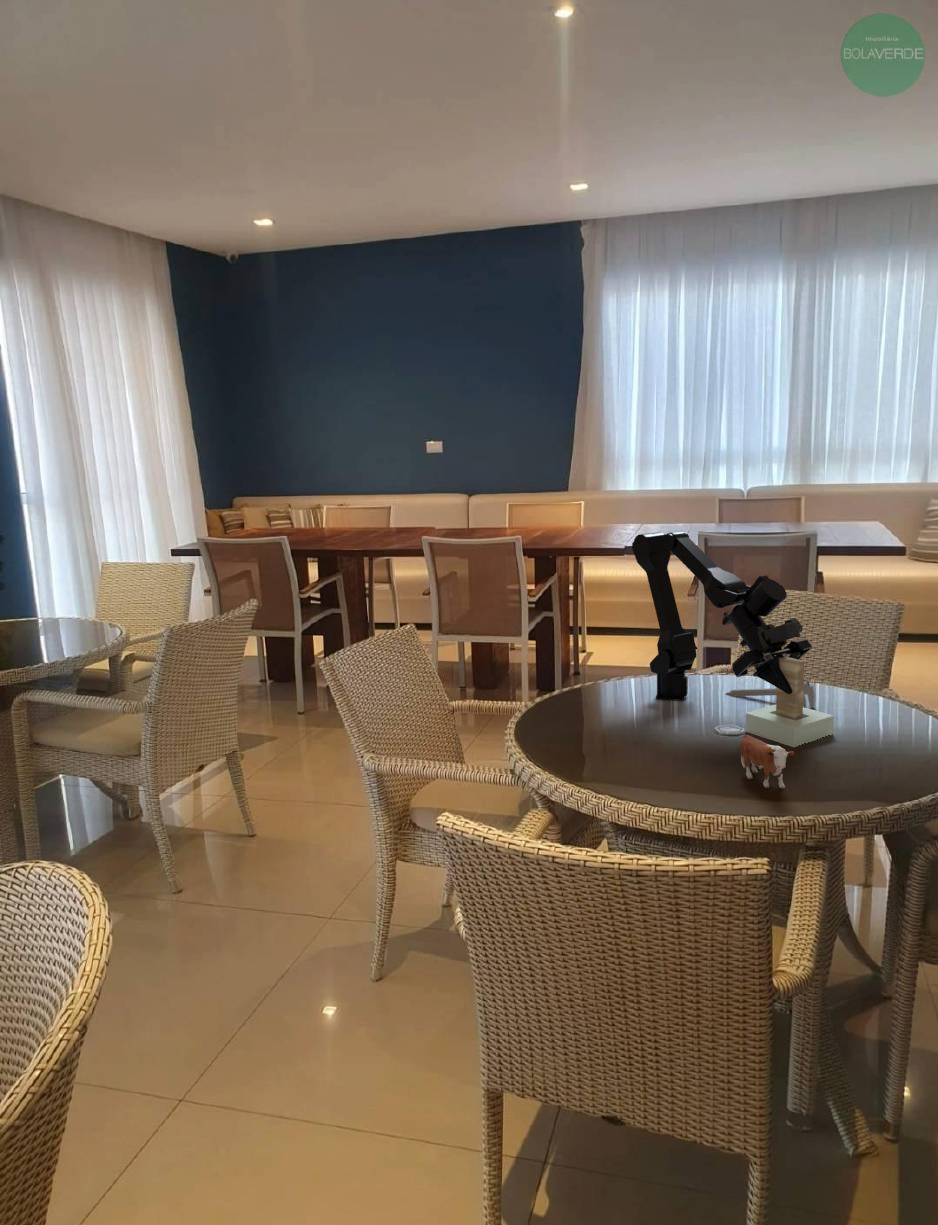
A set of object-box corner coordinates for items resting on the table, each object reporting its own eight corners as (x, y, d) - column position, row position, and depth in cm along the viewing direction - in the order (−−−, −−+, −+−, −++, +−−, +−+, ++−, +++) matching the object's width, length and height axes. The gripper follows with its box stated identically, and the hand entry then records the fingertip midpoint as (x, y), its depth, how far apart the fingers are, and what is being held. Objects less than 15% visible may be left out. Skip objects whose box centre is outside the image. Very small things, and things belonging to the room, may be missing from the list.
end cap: (793, 747, 170) (794, 727, 169) (745, 731, 180) (745, 713, 180) (833, 734, 176) (833, 715, 176) (783, 719, 186) (784, 701, 186)
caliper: (814, 708, 194) (815, 681, 193) (812, 709, 193) (813, 682, 192) (727, 694, 207) (727, 668, 206) (725, 695, 206) (725, 670, 205)
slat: (794, 725, 175) (796, 663, 173) (775, 720, 179) (777, 658, 177) (802, 723, 177) (804, 660, 174) (783, 717, 180) (785, 656, 178)
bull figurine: (776, 799, 147) (777, 753, 145) (734, 771, 160) (735, 728, 158) (799, 796, 148) (800, 750, 146) (756, 768, 161) (756, 726, 159)
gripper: (744, 613, 172) (789, 678, 165) (806, 600, 181) (851, 662, 174) (713, 644, 180) (754, 708, 173) (774, 631, 189) (815, 691, 182)
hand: (795, 692), depth 175 cm, fingers closed on slat, 2 cm apart
